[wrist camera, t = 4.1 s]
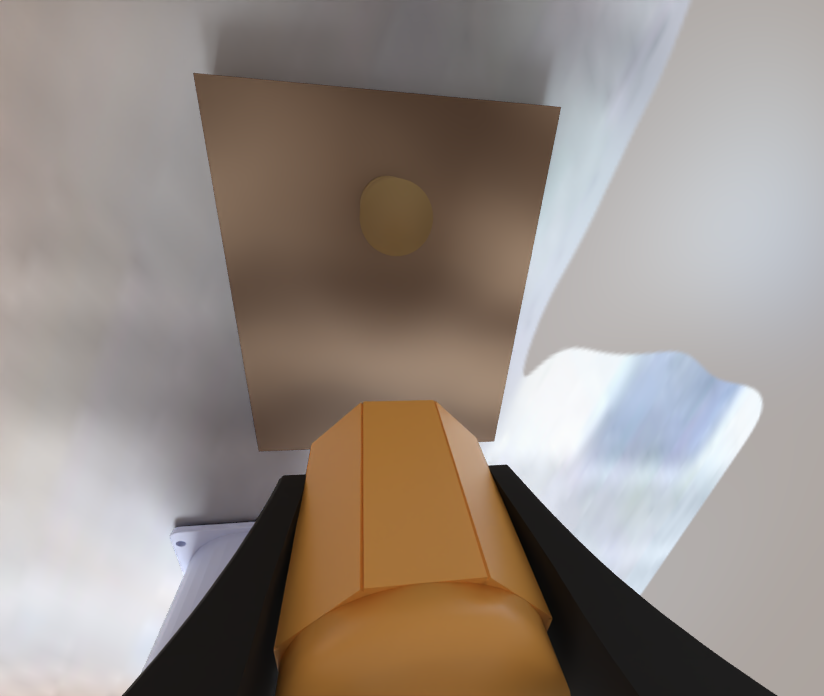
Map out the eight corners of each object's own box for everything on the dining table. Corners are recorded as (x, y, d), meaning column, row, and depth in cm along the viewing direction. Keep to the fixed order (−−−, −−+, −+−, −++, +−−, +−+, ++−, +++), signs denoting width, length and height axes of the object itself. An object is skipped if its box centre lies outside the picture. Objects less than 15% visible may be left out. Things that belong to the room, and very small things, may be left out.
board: (485, 423, 20) (524, 503, 16) (265, 431, 19) (232, 523, 14) (541, 113, 14) (639, 82, 9) (211, 83, 12) (111, 26, 7)
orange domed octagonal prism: (463, 516, 13) (536, 768, 7) (317, 526, 12) (282, 811, 7) (483, 398, 10) (609, 638, 5) (307, 402, 10) (242, 683, 4)
